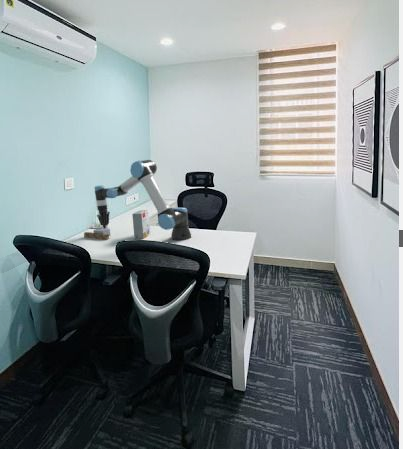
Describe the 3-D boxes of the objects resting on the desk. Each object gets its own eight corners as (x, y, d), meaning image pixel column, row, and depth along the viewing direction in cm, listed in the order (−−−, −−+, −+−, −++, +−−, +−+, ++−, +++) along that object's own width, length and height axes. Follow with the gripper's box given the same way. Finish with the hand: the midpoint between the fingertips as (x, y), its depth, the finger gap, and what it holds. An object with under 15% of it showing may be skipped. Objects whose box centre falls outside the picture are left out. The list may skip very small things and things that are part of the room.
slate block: (110, 235, 271) (109, 228, 269) (103, 238, 264) (102, 231, 262) (101, 234, 275) (100, 227, 274) (94, 237, 268) (93, 230, 267)
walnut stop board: (109, 239, 261) (108, 234, 260) (107, 239, 259) (106, 234, 258) (86, 236, 272) (86, 232, 271) (84, 237, 270) (83, 232, 269)
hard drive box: (143, 239, 255) (141, 213, 250) (134, 239, 257) (131, 213, 252) (150, 233, 270) (148, 209, 265) (141, 233, 271) (139, 209, 267)
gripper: (104, 203, 276) (108, 230, 282) (92, 206, 265) (97, 234, 271) (110, 203, 272) (114, 230, 278) (99, 206, 261) (104, 235, 268)
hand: (106, 232), depth 275 cm, fingers closed
